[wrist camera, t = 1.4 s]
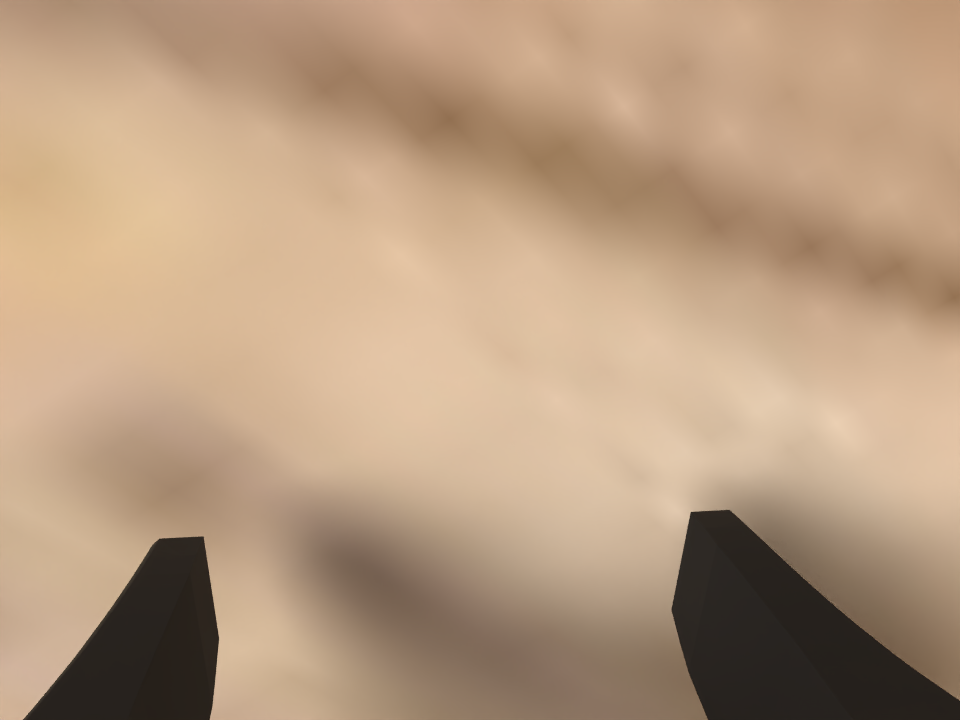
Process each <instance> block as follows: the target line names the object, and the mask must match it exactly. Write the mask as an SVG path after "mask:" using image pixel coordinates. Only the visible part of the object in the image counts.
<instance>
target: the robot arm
mask: <svg viewBox="0 0 960 720" xmlns="http://www.w3.org/2000/svg"><path fill="white" fill-rule="evenodd" d="M672 613H673V617H674V621H675V625H676V629H677V632H678V636H679V640H680V644H681V647H682V651H683V654H684V658H685V661H686V665H687V668H688V671H689V674H690V677H691V679H692V682H693V684H694V687H695V689H696V691H697V694H698V696H699V699H700V701H701V704H702V706H703V708H704V711H705V713H706V716H707V718H708V720H960V701H959V700H958V699H956V698H955V697H953V696H952V695H950V694H949V693H948V692H946V691H945V690H943V689H942V688H940V687H939V686H937V685H936V684H935V683H933V682H932V681H930V680H929V679H927V678H926V677H925V676H923V675H922V674H920V673H919V672H917V671H916V670H914V669H913V668H912V667H910V666H909V665H908V664H906V663H905V662H904V661H902V660H901V659H900V658H898V657H897V656H896V655H894V654H893V653H892V652H890V651H889V650H888V649H887V648H885V647H884V646H883V645H882V644H880V643H879V642H878V641H877V640H875V639H874V638H873V637H871V636H870V635H869V634H868V633H866V632H865V631H864V630H863V629H861V628H860V627H859V626H858V625H856V624H855V623H854V622H853V621H852V620H850V619H849V618H848V617H847V616H846V615H845V614H843V613H842V612H841V611H840V610H839V609H837V608H836V607H835V606H834V605H833V604H832V603H830V602H829V601H828V600H827V599H826V598H825V597H824V596H822V595H821V594H820V593H819V592H818V591H817V590H816V589H815V588H813V587H812V586H811V585H810V584H809V583H808V582H807V581H806V580H805V579H803V578H802V577H801V576H800V575H799V574H798V573H797V572H796V571H795V570H794V569H792V568H791V567H790V566H789V565H788V564H787V563H786V562H785V561H784V560H783V559H782V558H781V557H780V556H778V555H777V554H776V553H775V552H774V551H773V550H772V549H771V548H770V547H769V546H768V545H767V544H766V543H765V542H764V541H762V540H761V539H760V538H759V537H758V536H757V535H756V534H755V533H754V532H753V531H752V530H751V529H750V528H749V527H748V526H747V525H745V524H744V523H743V522H742V521H741V520H740V519H739V518H738V517H737V516H736V515H735V514H733V513H732V512H731V511H730V510H720V511H700V512H691V514H690V519H689V524H688V529H687V534H686V539H685V544H684V549H683V554H682V559H681V564H680V569H679V575H678V580H677V585H676V590H675V595H674V600H673V605H672ZM218 644H219V635H218V629H217V622H216V616H215V609H214V603H213V596H212V589H211V583H210V576H209V570H208V563H207V557H206V550H205V543H204V537H184V538H164V539H159V540H158V541H157V542H155V543H154V544H153V545H152V547H151V548H150V550H149V552H148V553H147V555H146V556H145V558H144V560H143V561H142V563H141V564H140V566H139V567H138V569H137V570H136V572H135V574H134V575H133V577H132V578H131V580H130V581H129V583H128V584H127V586H126V587H125V589H124V590H123V592H122V593H121V594H120V596H119V597H118V599H117V600H116V602H115V603H114V605H113V606H112V608H111V609H110V610H109V612H108V613H107V615H106V616H105V617H104V619H103V620H102V621H101V623H100V624H99V625H98V627H97V628H96V630H95V631H94V632H93V634H92V635H91V636H90V638H89V639H88V640H87V642H86V643H85V644H84V646H83V647H82V648H81V650H80V651H79V653H78V654H77V655H76V656H75V658H74V659H73V660H72V662H71V663H70V664H69V665H68V667H67V668H66V669H65V670H64V671H63V673H62V674H61V675H60V676H59V677H58V679H57V680H56V681H55V682H54V684H53V685H52V686H51V687H50V688H49V690H48V691H47V692H46V693H45V694H44V696H43V697H42V698H41V699H40V701H39V702H38V703H37V704H36V705H35V707H34V708H33V709H32V710H31V711H30V712H29V714H28V715H27V716H26V717H25V718H24V719H23V720H210V715H211V710H212V704H213V695H214V685H215V676H216V665H217V655H218Z"/></svg>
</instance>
